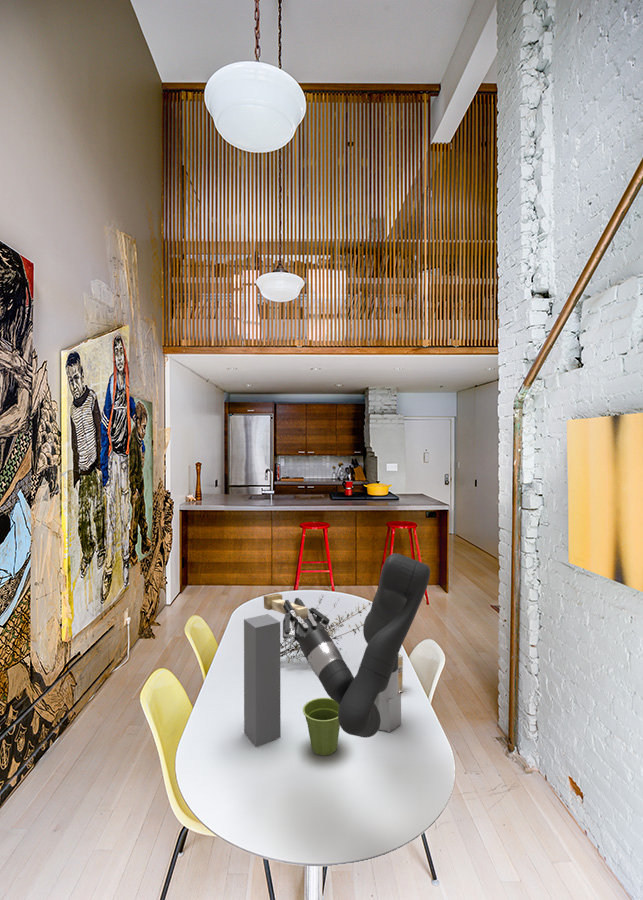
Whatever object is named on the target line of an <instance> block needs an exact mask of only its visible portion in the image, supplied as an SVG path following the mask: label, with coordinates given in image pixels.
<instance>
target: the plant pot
mask: <svg viewBox="0 0 643 900" xmlns="http://www.w3.org/2000/svg"><path fill="white" fill-rule="evenodd" d="M339 706H340V705H339V704H338V703H337V702H336V701H334V700H333V699H332V698H330V697H318V698H313V699H311V700H309V701H308V702H306V703H305V704H304V705H303V707H302V712H303V715H304V716H305V721H306V723H307V728H308V734H309V735H308V736H309V739H310V740H309V741H310V745H311V750H312V752H313V753H314V754H315V755H321V756H323V757H324V756H330V755H333V754H334V753H335V752H336V750H337V748H338V742H339V734H340V728H341V726H340V724H339V721H338V711H339Z"/></svg>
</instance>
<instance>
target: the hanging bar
mask: <svg viewBox="0 0 643 900" xmlns="http://www.w3.org/2000/svg"><path fill="white" fill-rule="evenodd" d="M289 602H290V601H289ZM284 603H285V600H284V599H283V594H280V593H272V594H268V595H264V596H263V608H264V609H265V610H268V611H271V610H272V611H275V612H277V613H281V614H283V615H285V614H286V612H285V610H284V608H283V606H284ZM290 604H291V605H292V607H293V609H294V611H295V613H296V614H297V615H298V616H300V617H301V618H302V620H303V619H304V618H308V617H307V614H308V609H309V608H308V607H306V606H305V607H303V606H300V605H297V604H294V602H290ZM307 608H308V609H307Z"/></svg>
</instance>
